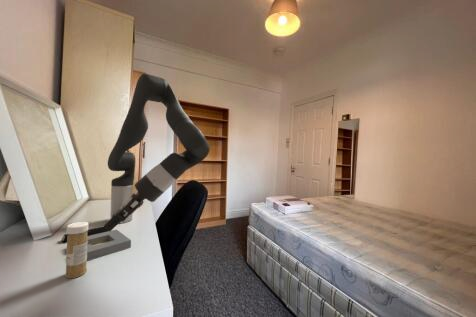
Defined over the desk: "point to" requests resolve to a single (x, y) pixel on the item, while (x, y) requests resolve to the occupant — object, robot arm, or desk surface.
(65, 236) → the electric trimmer
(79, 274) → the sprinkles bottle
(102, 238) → the holder plate
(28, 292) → the desk surface
